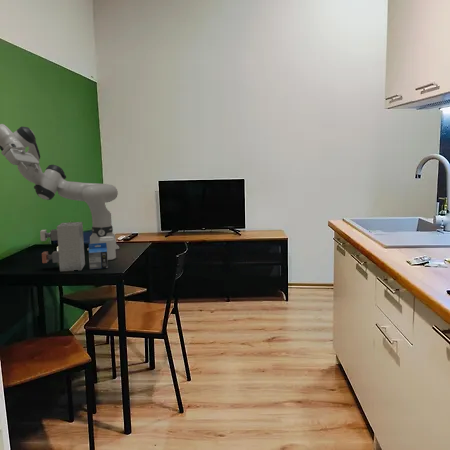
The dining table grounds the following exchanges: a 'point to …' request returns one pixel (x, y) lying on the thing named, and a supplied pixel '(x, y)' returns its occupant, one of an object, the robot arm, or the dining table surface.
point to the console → (69, 246)
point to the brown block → (46, 257)
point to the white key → (44, 235)
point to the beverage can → (109, 246)
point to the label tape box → (98, 256)
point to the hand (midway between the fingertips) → (32, 171)
